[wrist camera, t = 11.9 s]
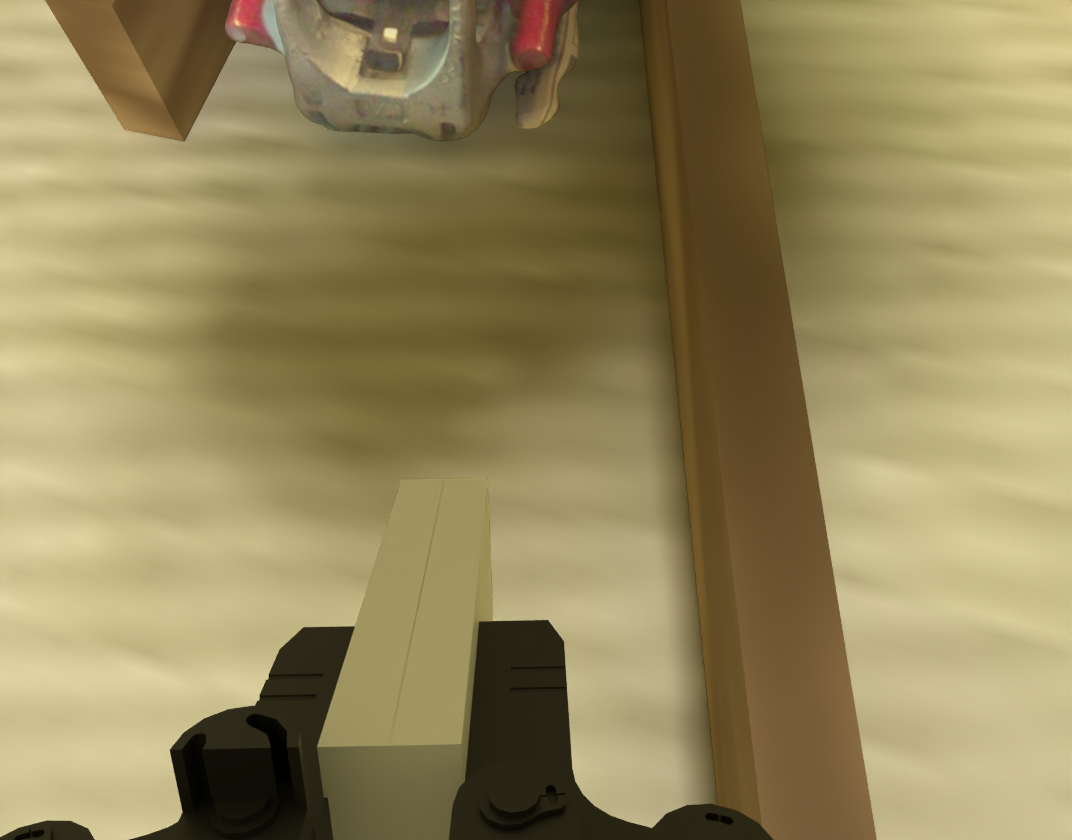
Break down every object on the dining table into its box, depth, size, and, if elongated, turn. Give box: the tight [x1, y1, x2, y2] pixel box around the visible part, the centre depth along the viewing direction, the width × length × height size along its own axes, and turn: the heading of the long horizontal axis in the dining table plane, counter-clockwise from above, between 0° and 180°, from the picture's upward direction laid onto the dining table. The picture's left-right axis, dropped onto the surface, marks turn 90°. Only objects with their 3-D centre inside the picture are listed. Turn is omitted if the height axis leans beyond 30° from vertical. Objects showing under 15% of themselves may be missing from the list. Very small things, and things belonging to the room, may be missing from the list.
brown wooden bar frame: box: [45, 0, 876, 840], centre depth 18 cm, size 18×43×15 cm, turn 1°
